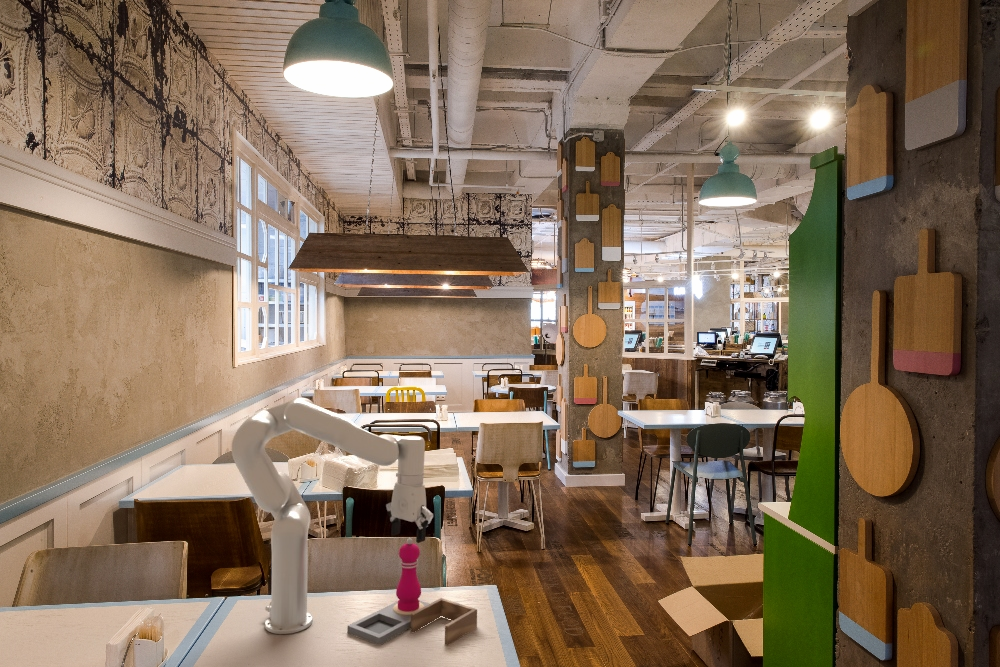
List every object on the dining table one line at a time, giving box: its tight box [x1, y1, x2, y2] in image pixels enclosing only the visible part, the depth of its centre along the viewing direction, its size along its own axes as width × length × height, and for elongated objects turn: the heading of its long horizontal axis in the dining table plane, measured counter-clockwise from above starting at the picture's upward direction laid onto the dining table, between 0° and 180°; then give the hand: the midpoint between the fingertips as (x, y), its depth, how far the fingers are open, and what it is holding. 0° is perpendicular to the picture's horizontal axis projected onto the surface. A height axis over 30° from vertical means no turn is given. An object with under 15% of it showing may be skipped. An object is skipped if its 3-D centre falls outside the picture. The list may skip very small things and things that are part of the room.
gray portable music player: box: [346, 599, 430, 646], centre depth 181 cm, size 12×24×2 cm, turn 146°
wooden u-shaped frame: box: [410, 597, 478, 646], centre depth 177 cm, size 13×13×5 cm
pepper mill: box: [395, 538, 422, 612], centre depth 186 cm, size 7×7×20 cm
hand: (408, 538), depth 186 cm, fingers open, 9 cm apart
